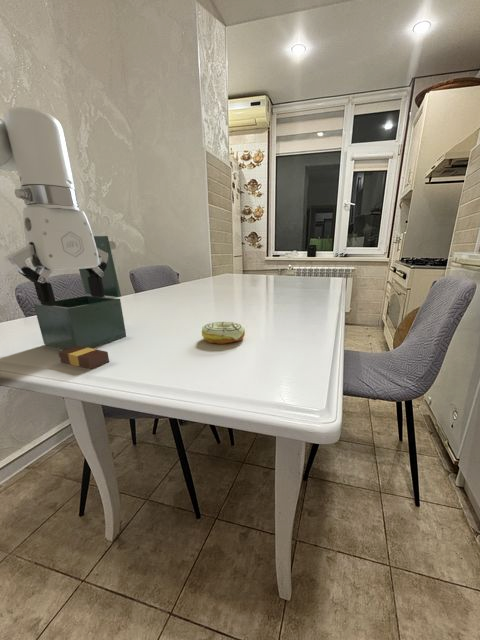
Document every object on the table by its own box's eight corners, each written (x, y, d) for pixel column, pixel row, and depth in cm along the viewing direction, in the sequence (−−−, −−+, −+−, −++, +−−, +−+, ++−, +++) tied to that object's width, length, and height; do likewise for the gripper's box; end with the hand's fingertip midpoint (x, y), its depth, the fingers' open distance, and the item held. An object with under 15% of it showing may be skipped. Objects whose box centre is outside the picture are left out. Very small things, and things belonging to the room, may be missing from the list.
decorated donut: (246, 345, 69) (245, 329, 68) (200, 346, 68) (199, 331, 67) (244, 332, 79) (243, 318, 78) (204, 333, 78) (203, 319, 77)
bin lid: (104, 236, 66) (123, 235, 70) (69, 236, 70) (89, 235, 75) (118, 297, 71) (135, 292, 76) (85, 293, 76) (103, 289, 80)
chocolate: (60, 361, 59) (57, 351, 58) (80, 355, 63) (78, 345, 62) (90, 369, 55) (88, 358, 55) (109, 361, 59) (107, 351, 58)
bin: (78, 352, 64) (68, 308, 61) (44, 344, 69) (33, 303, 65) (126, 336, 75) (120, 298, 72) (94, 330, 80) (87, 295, 77)
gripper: (5, 191, 41) (38, 311, 47) (111, 205, 56) (126, 295, 61) (-23, 195, 44) (12, 307, 50) (84, 207, 58) (101, 292, 64)
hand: (75, 300), depth 56 cm, fingers open, 9 cm apart
